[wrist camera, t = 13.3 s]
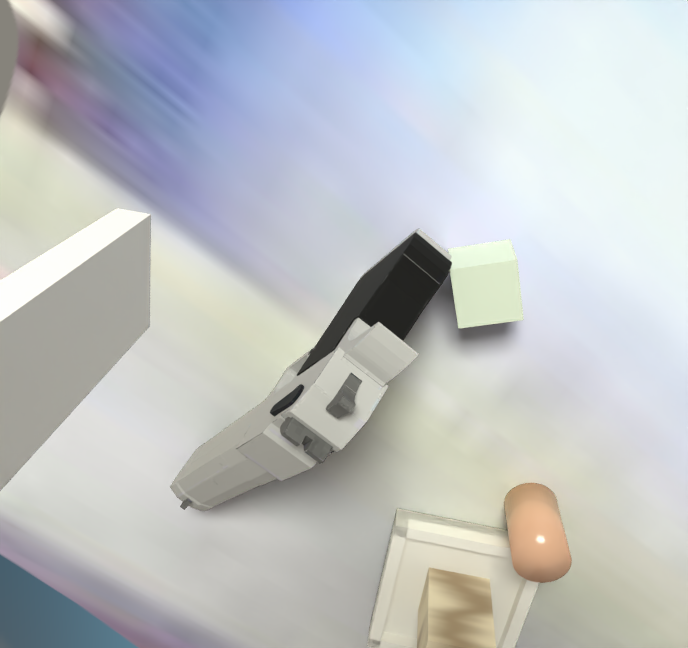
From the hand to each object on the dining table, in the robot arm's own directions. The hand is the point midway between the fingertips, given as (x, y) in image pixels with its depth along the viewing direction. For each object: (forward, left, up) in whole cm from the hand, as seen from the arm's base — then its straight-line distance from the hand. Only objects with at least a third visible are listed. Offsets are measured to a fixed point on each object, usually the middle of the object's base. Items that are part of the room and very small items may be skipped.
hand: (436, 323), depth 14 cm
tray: (-9, +37, -29) cm, 48 cm away
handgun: (+6, +19, -29) cm, 35 cm away
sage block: (-5, +9, -29) cm, 31 cm away
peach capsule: (-13, +27, -29) cm, 41 cm away
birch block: (-9, +37, -28) cm, 47 cm away
